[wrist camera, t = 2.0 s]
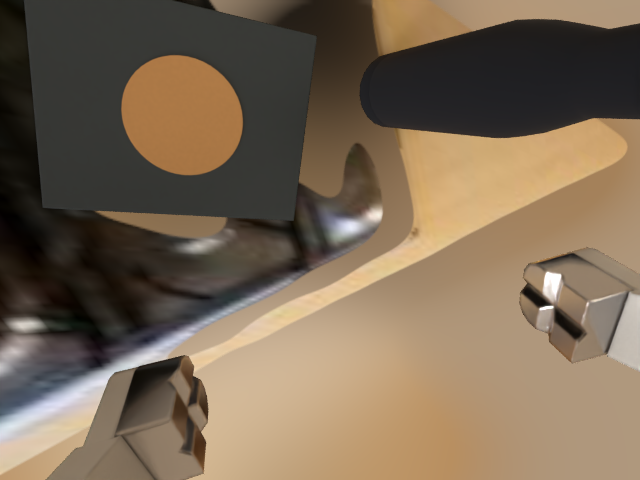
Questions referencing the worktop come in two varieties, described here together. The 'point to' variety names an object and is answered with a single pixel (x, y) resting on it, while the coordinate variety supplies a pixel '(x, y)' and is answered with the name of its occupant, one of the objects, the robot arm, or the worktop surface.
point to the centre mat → (167, 108)
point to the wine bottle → (508, 80)
